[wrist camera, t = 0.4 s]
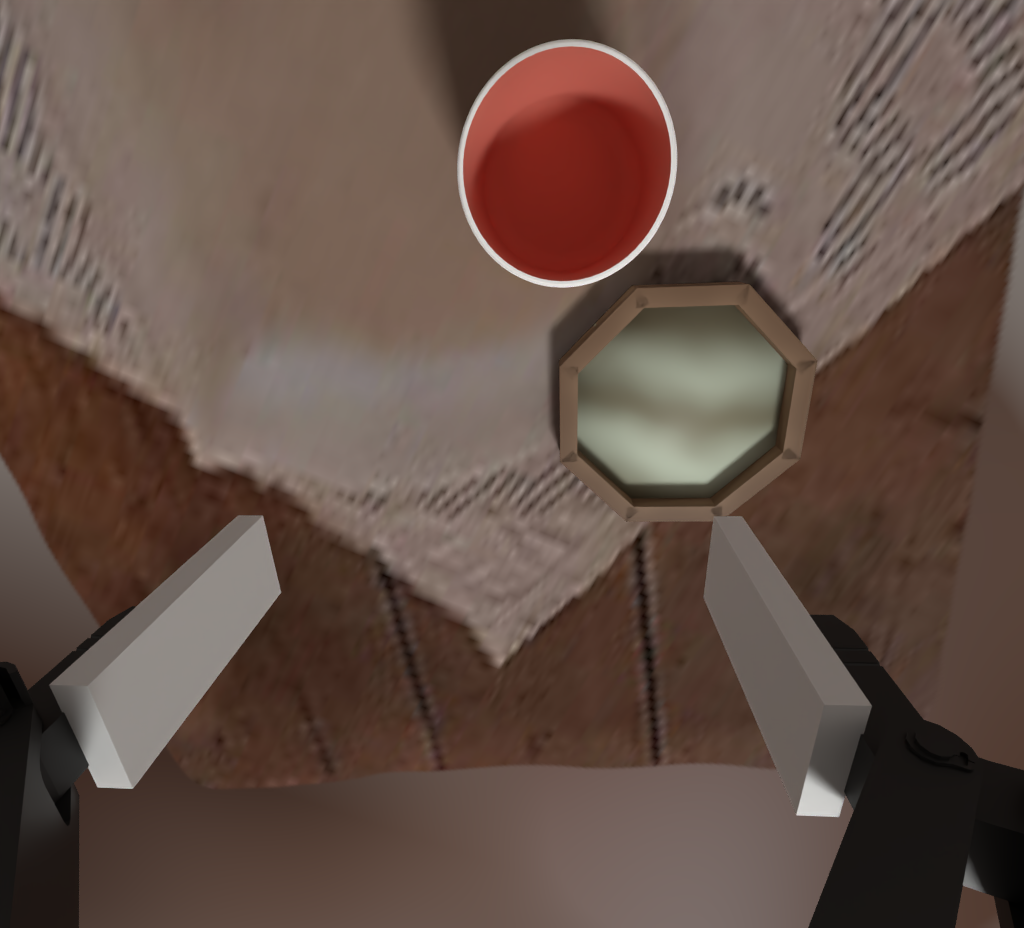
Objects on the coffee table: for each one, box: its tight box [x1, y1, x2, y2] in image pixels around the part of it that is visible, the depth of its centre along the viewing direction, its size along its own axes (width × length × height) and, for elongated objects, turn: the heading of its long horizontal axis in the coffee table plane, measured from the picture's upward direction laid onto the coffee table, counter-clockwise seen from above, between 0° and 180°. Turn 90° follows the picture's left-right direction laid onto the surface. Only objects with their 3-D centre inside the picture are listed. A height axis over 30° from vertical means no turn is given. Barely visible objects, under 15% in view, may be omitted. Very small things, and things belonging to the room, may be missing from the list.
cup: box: [457, 39, 677, 287], centre depth 29 cm, size 10×10×10 cm
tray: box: [559, 282, 817, 522], centre depth 37 cm, size 16×16×2 cm
